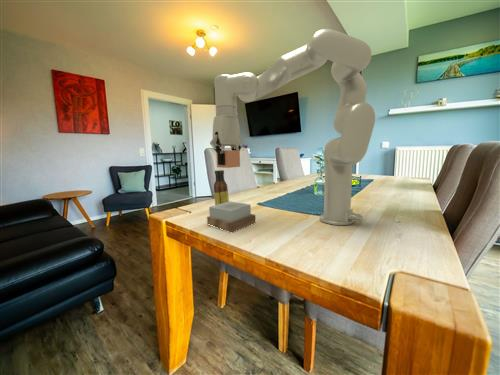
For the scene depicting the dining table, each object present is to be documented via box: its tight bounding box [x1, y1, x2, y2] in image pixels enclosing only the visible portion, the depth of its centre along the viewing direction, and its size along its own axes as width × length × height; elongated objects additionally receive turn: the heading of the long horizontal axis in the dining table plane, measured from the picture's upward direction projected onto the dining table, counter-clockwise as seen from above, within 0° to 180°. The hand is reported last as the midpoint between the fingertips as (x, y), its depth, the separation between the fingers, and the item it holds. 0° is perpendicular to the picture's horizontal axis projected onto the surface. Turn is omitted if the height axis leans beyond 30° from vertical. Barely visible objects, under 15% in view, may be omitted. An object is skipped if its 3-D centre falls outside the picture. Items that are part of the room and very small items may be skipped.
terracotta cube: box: [215, 149, 241, 169], centre depth 80 cm, size 6×6×6 cm
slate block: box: [208, 201, 252, 222], centre depth 83 cm, size 11×11×4 cm
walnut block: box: [206, 213, 256, 233], centre depth 83 cm, size 13×13×4 cm
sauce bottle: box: [213, 169, 229, 206], centre depth 97 cm, size 7×6×20 cm
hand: (228, 163), depth 80 cm, fingers closed on terracotta cube, 6 cm apart
